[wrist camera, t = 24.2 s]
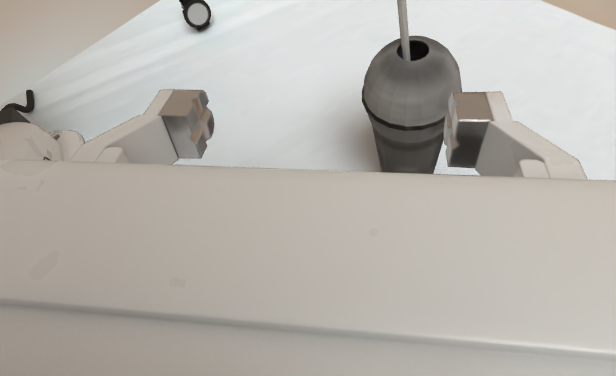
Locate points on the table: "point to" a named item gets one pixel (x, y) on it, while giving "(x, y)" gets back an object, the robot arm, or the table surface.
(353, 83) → the table surface
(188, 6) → the smartwatch
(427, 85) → the beverage cup
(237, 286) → the robot arm
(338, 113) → the table surface
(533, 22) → the table surface
